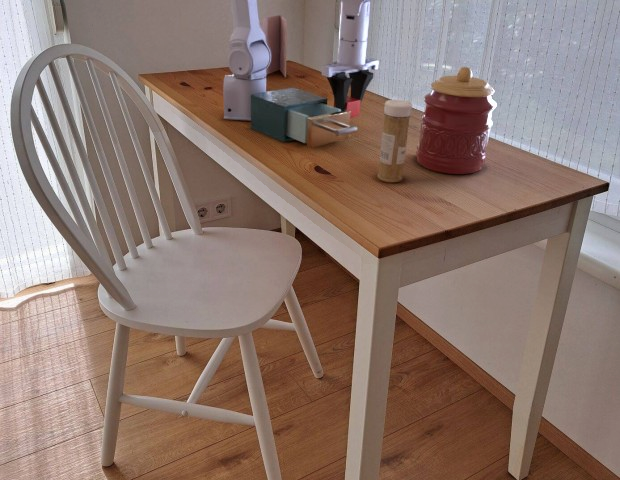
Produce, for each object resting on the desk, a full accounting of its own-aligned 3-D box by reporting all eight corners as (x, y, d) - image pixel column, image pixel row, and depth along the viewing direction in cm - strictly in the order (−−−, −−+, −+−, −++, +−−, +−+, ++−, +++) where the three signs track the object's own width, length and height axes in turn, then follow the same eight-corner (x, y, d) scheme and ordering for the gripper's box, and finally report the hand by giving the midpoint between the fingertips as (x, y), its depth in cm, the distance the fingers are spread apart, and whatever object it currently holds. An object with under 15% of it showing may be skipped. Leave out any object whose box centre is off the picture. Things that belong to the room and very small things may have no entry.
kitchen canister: (411, 150, 119) (424, 58, 110) (475, 154, 119) (494, 61, 110) (419, 173, 108) (434, 73, 99) (490, 177, 108) (511, 77, 99)
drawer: (365, 144, 119) (368, 116, 116) (327, 154, 113) (329, 125, 110) (315, 126, 128) (316, 99, 125) (277, 134, 122) (278, 107, 119)
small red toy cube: (359, 116, 126) (360, 100, 125) (345, 119, 124) (347, 102, 122) (346, 111, 129) (347, 95, 127) (332, 114, 127) (334, 98, 125)
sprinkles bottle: (406, 182, 104) (416, 105, 97) (381, 184, 103) (390, 105, 96) (397, 173, 108) (406, 98, 101) (373, 174, 107) (381, 98, 100)
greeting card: (276, 68, 179) (277, 14, 171) (299, 71, 177) (300, 16, 169) (259, 75, 170) (259, 18, 162) (282, 79, 168) (283, 21, 160)
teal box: (325, 132, 127) (327, 98, 123) (283, 142, 120) (284, 106, 117) (292, 120, 134) (293, 87, 130) (250, 128, 127) (250, 94, 123)
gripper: (341, 45, 111) (336, 118, 119) (392, 39, 120) (384, 107, 127) (316, 39, 116) (312, 109, 123) (367, 34, 124) (361, 100, 132)
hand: (347, 108), depth 125 cm, fingers closed on small red toy cube, 4 cm apart
